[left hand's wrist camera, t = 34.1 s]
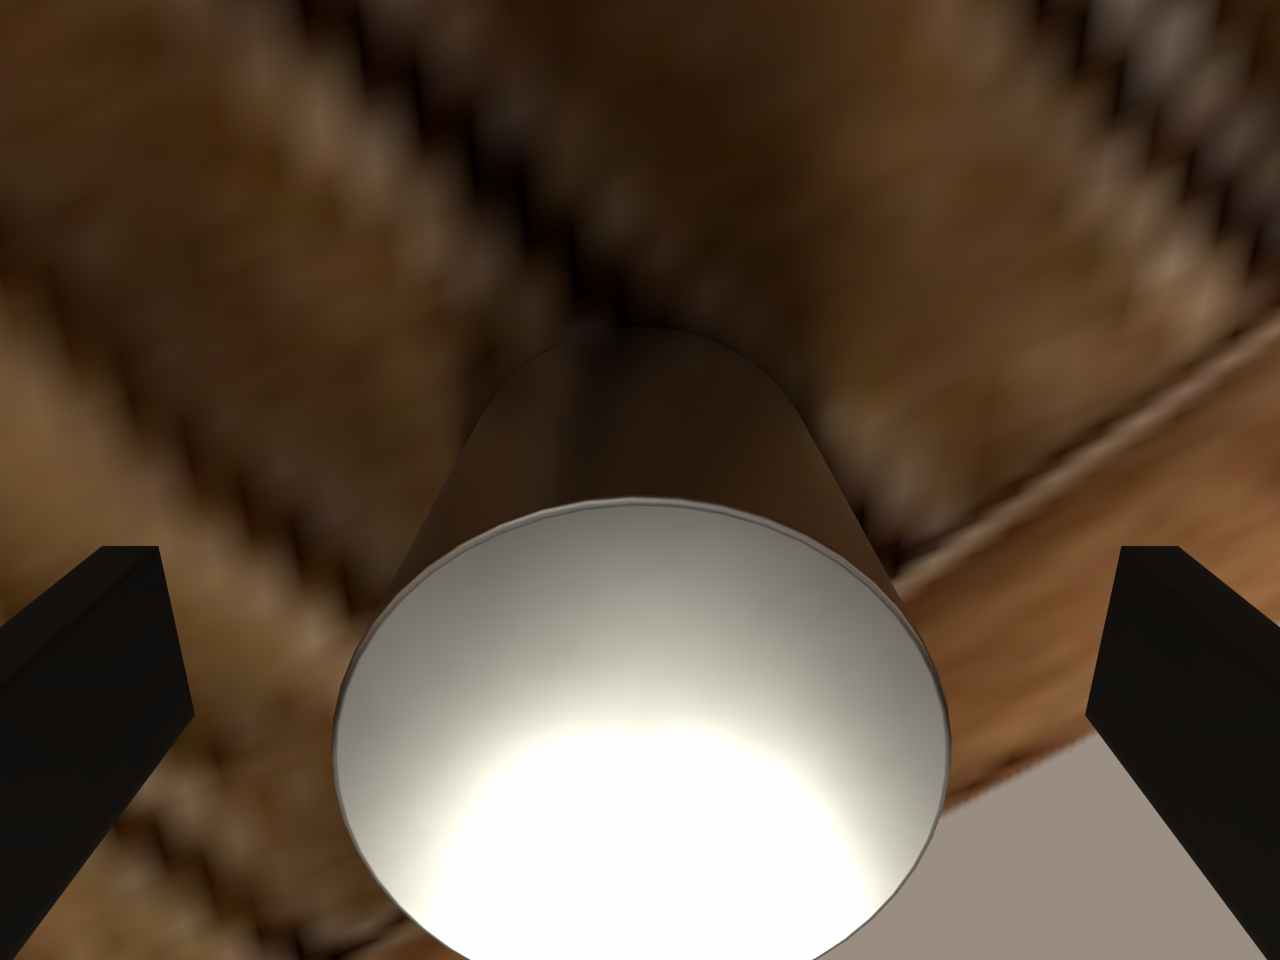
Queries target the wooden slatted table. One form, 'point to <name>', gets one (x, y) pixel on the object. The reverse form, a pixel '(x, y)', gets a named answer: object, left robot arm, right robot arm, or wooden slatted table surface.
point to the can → (641, 679)
